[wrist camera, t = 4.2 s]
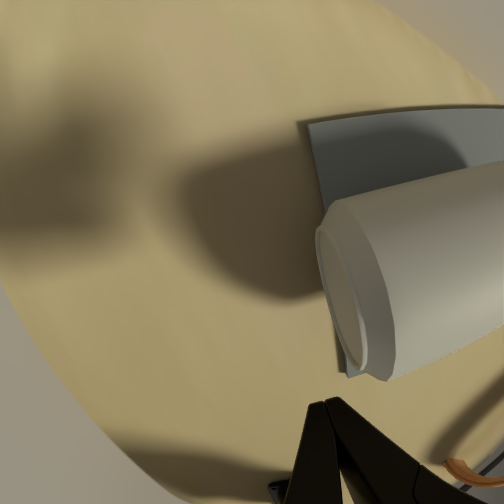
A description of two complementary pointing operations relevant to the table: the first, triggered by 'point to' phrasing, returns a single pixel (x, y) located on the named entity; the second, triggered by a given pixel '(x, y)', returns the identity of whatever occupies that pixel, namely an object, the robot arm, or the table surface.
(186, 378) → the table surface
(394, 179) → the mat
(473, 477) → the arch
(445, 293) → the can
